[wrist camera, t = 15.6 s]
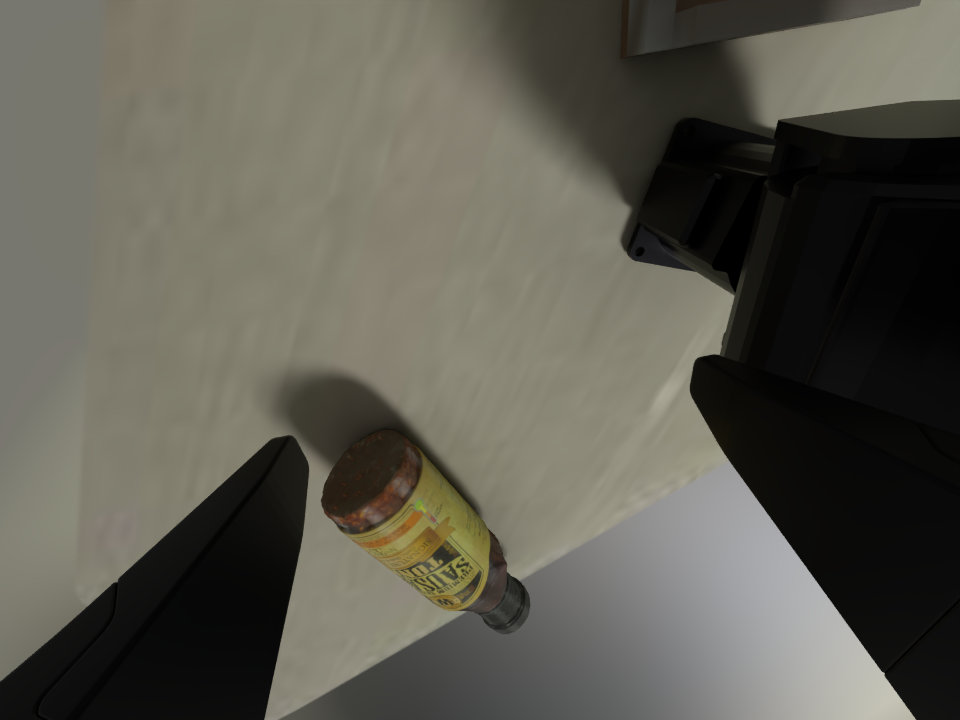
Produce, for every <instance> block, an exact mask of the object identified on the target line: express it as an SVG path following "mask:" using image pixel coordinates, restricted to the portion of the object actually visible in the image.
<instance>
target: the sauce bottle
mask: <svg viewBox="0 0 960 720" xmlns="http://www.w3.org/2000/svg"><path fill="white" fill-rule="evenodd" d="M321 503H322V507H323V509H324V513H325V514H326V515H327V517H329V518H330V519H332V520H333V521H334V523H335V524H336V525H337V527H338V528H339V530H340V531H341V532H343V533H344V534H345V535H346V536H348V537H349V538H350V539H351V540H353V541H354V542H355V543H357V544H358V545H359V546H360V547H362V548H363V549H364V550H366V551H367V552H368V553H369V554H371V555H372V556H373V557H375V558H376V559H377V560H379V561H380V562H381V563H383V564H384V565H385V566H386V567H387V568H388V569H390V570H391V571H393V572H394V573H396V574H397V575H398V576H399V577H401V578H402V579H403V580H405V581H406V582H407V583H409V584H410V585H411V586H412V587H414V588H415V589H416V590H417V591H419V592H420V593H421V594H423V595H424V596H425V597H426V598H427V599H429V600H430V601H431V602H433V603H434V604H435V605H437V606H438V607H440V608H442V609H444V610H448V611H473V612H475V613H477V614H479V615H480V616H481V617H482V618H483V620H484V622H485V623H486V624H487V625H488V626H489V627H490V628H492V629H493V630H495V631H496V632H498V633H501V634H509V633H512V632H515V631H516V630H517V629H519V628H520V627H521V626H522V625H523V623H524V622H525V620H526V619H527V617H528V614H529V610H530V598H529V594H528V592H527V590H526V589H525V587H524V586H523V585H522V583H521V582H520V581H519V580H518V579H516V578H514V577H512V576H510V574H509V573H508V572H507V563H506V561H505V559H504V557H503V553H502V550H501V547H500V545H499V541H498V540H497V538H496V537H495V535H494V534H493V533H492V532H491V531H490V530H489V529H488V528H487V526H486V524H485V523H484V521H483V520H482V519H481V518H480V517H479V516H478V515H477V513H476V512H475V511H474V510H473V509H472V508H471V507H470V506H469V505H468V503H467V502H466V501H465V500H464V499H463V498H462V497H461V496H460V495H459V493H458V492H457V491H456V490H455V489H454V488H453V487H452V486H451V484H450V483H449V482H448V481H447V480H446V479H445V478H444V477H443V476H442V474H441V473H440V472H439V471H438V470H437V469H436V468H435V466H434V465H433V464H432V463H431V462H430V461H429V460H428V459H427V458H426V457H425V455H424V454H423V453H422V452H421V451H420V450H419V449H418V448H417V447H416V446H415V445H413V444H411V443H410V442H409V440H408V439H407V438H406V437H404V436H403V435H402V434H400V433H398V432H395V431H394V430H388V429H387V430H380V431H377V432H375V433H373V434H371V435H369V436H368V437H366V438H364V439H363V440H361V441H359V442H357V443H356V444H354V445H352V446H351V447H350V448H349V449H348V450H347V451H346V452H345V453H344V454H343V455H342V456H341V458H340V459H339V461H338V462H337V463H336V465H335V466H334V467H333V469H332V471H331V472H330V474H329V476H328V478H327V480H326V482H325V484H324V489H323V496H322V499H321Z"/></svg>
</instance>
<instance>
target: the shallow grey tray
mask: <svg viewBox="0 0 960 720" xmlns="http://www.w3.org/2000/svg"><path fill="white" fill-rule="evenodd" d="M920 2H921V0H623V10H622V35H621V58H625V57H631V56H637V55H643V54H649V53H655V52H661V51H666V50H672V49H678V48H684V47H690V46H696V45H702V44H707V43H713V42H719V41H725V40H731V39H737V38H743V37H748V36H754V35H760V34H766V33H772V32H778V31H784V30H789V29H795V28H801V27H807V26H813V25H819V24H825V23H830V22H836V21H842V20H848V19H854V18H859V17H864V16H870V15H875V14H880V13H886V12H891V11H896V10H901V9H906V8H909V7H915V6H919V5H920Z"/></svg>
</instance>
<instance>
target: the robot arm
mask: <svg viewBox="0 0 960 720" xmlns="http://www.w3.org/2000/svg"><path fill="white" fill-rule="evenodd" d="M688 125H690V127H691V129H690V132H689V134H688V135H686V136H685V134H684V131H685V128H686V127H687V126H688ZM775 139H777V140H775ZM637 219H638V223H637V226H636V228H635V231H634V233H633V236H632V238H631V241H630V243H629V246H628V249H627V254H628V256H629V257H630V258H631V259H633V260H635V261H639V262H644V263H650V264H655V265H661V266H667V267H672V268H678V269H683V270H689V271H694V272H697V273H699V274H701V275H702V276H704V277H706V278H707V279H709V280H710V281H712V282H714V283H715V284H717V285H718V286H720V287H722V288H723V289H725V290H726V291H728V292H730V293H731V294H733V295H734V296H735V297H734V301H733V305H732V309H731V313H730V317H729V321H728V325H727V329H726V332H725V333H724V336H723V340H722V348H721V352H720V355H715V354H714V355H708V356H703V357H699V358H697V359H696V360H695V362H694V366H693V372H692V377H691V382H690V393H691V396H692V398H693V400H694V402H695V404H696V405H697V407H698V409H699V411H700V412H701V414H702V416H703V418H704V419H705V421H706V423H707V425H708V426H709V428H710V430H711V432H712V434H713V435H714V437H715V439H716V441H717V442H718V444H719V446H720V447H721V449H722V451H723V452H724V454H725V455H726V457H727V458H728V460H729V461H730V462H731V464H732V465H733V467H734V468H735V469H736V471H737V472H738V473H739V475H740V476H741V478H742V479H743V480H744V482H745V483H746V485H747V486H748V487H749V489H750V490H751V491H752V493H753V494H754V496H755V497H756V498H757V500H758V501H759V503H760V504H761V505H762V507H763V508H764V509H765V511H766V512H767V514H768V515H769V516H770V518H771V519H772V520H773V522H774V523H775V524H776V526H777V527H778V529H779V530H780V531H781V533H782V534H783V536H784V537H785V538H786V540H787V541H788V543H789V544H790V545H791V547H792V548H793V550H794V551H795V552H796V554H797V555H798V556H799V558H800V559H801V561H802V562H803V563H804V565H805V566H806V567H807V569H808V570H809V572H810V573H811V574H812V576H813V577H814V578H815V580H816V581H817V583H818V584H819V585H820V587H821V588H822V590H823V591H824V592H825V594H826V595H827V597H828V598H829V599H830V601H831V602H832V603H833V605H834V606H835V607H836V609H837V610H838V612H839V613H840V614H841V616H842V617H843V619H844V620H845V621H846V623H847V624H848V625H849V627H850V628H851V630H852V631H853V632H854V634H855V635H856V637H857V638H858V639H859V641H860V642H861V644H862V645H863V646H864V648H865V649H866V650H867V652H868V653H869V655H870V656H871V657H872V659H873V660H874V661H875V663H876V664H877V666H878V667H879V668H880V670H881V671H882V672H884V673H885V677H886V679H887V680H888V681H889V683H890V684H891V686H892V687H893V688H894V690H895V691H896V692H897V694H898V695H899V697H900V698H901V699H902V701H903V702H904V703H905V705H906V706H907V708H908V709H909V710H910V712H911V713H912V715H913V716H914V717H915V719H916V720H960V100H934V101H911V102H902V103H895V104H888V105H881V106H874V107H867V108H859V109H852V110H845V111H838V112H831V113H824V114H817V115H809V116H802V117H795V118H788V119H781V120H778V123H777V127H776V131H775V135H774V139H771V138H768V137H764V136H760V135H757V134H753V133H749V132H746V131H742V130H738V129H735V128H731V127H727V126H724V125H720V124H716V123H713V122H709V121H705V120H702V119H698V118H691V117H686V118H684V119H682V120H681V121H680V122H678V124H677V126H676V127H675V130H674V132H673V135H672V137H671V140H670V142H669V145H668V147H667V150H666V152H665V155H664V157H663V160H662V163H660V164H659V165H658V166H657V168H656V171H655V173H654V176H653V178H652V181H651V183H650V186H649V189H648V191H647V194H646V196H645V199H644V201H643V204H642V206H641V209H640V211H639V214H638V217H637ZM638 247H641V250H640V252H639V253H637V254H635V250H636V249H637V248H638ZM308 477H309V465H308V461H307V459H306V457H305V455H304V453H303V451H302V450H301V448H300V446H299V444H298V442H297V440H296V439H295V438H294V437H293V436H291V435H287V436H282V437H276V438H273V439H271V440H270V441H269V442H268V443H266V444H265V445H264V446H263V447H262V448H261V449H260V450H259V451H258V452H257V453H256V454H254V455H253V456H252V457H251V458H250V459H249V460H248V461H247V462H246V463H245V464H243V465H242V466H241V467H240V468H239V469H238V470H237V471H236V472H235V473H234V474H233V475H231V476H230V477H229V478H228V479H227V480H226V481H225V482H224V483H223V484H222V485H220V486H219V487H218V488H217V489H216V490H215V491H214V492H213V493H212V494H211V495H209V496H208V497H207V498H206V499H205V500H204V501H203V502H202V503H201V504H200V505H199V506H197V507H196V508H195V509H194V510H193V511H192V512H191V513H190V514H189V515H188V516H186V517H185V518H184V519H183V520H182V521H181V522H180V523H179V524H178V525H177V526H175V527H174V528H173V529H172V530H171V531H170V532H169V533H168V534H167V535H166V536H165V537H163V538H162V539H161V540H160V541H159V542H158V543H157V544H156V545H155V546H154V547H152V548H151V549H150V550H149V551H148V552H147V553H146V554H145V555H144V556H143V557H141V558H140V559H139V560H138V561H137V562H136V563H135V564H134V565H133V566H132V567H131V568H129V569H128V570H127V571H126V572H125V573H124V574H123V575H122V576H121V577H120V578H119V579H118V582H115V583H113V584H112V585H111V586H110V587H108V588H107V589H106V590H105V591H104V592H103V593H102V594H101V595H100V596H99V597H98V598H96V599H95V600H94V601H93V602H92V603H91V604H90V605H89V606H88V607H86V608H85V609H84V610H83V611H82V612H81V613H80V614H79V615H77V616H76V617H75V618H74V619H73V620H72V621H71V622H70V623H68V624H67V625H66V626H65V627H64V628H63V629H62V630H61V631H60V632H58V633H57V634H56V635H55V636H54V637H53V638H52V639H50V640H49V641H48V642H47V643H45V644H44V645H43V646H42V647H41V648H40V649H38V650H37V651H36V652H35V653H34V654H32V656H30V657H29V658H28V659H27V660H25V661H24V662H23V663H22V664H21V665H20V666H18V667H17V668H16V669H15V670H14V671H12V672H11V673H10V674H9V675H7V676H6V677H5V678H4V679H3V680H2V681H0V720H264V718H265V714H266V709H267V704H268V699H269V695H270V690H271V685H272V681H273V676H274V671H275V666H276V662H277V657H278V652H279V647H280V643H281V638H282V633H283V628H284V624H285V619H286V614H287V609H288V605H289V600H290V595H291V591H292V586H293V581H294V576H295V572H296V567H297V562H298V557H299V553H300V548H301V543H302V537H303V530H304V520H305V510H306V499H307V488H308Z"/></svg>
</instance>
